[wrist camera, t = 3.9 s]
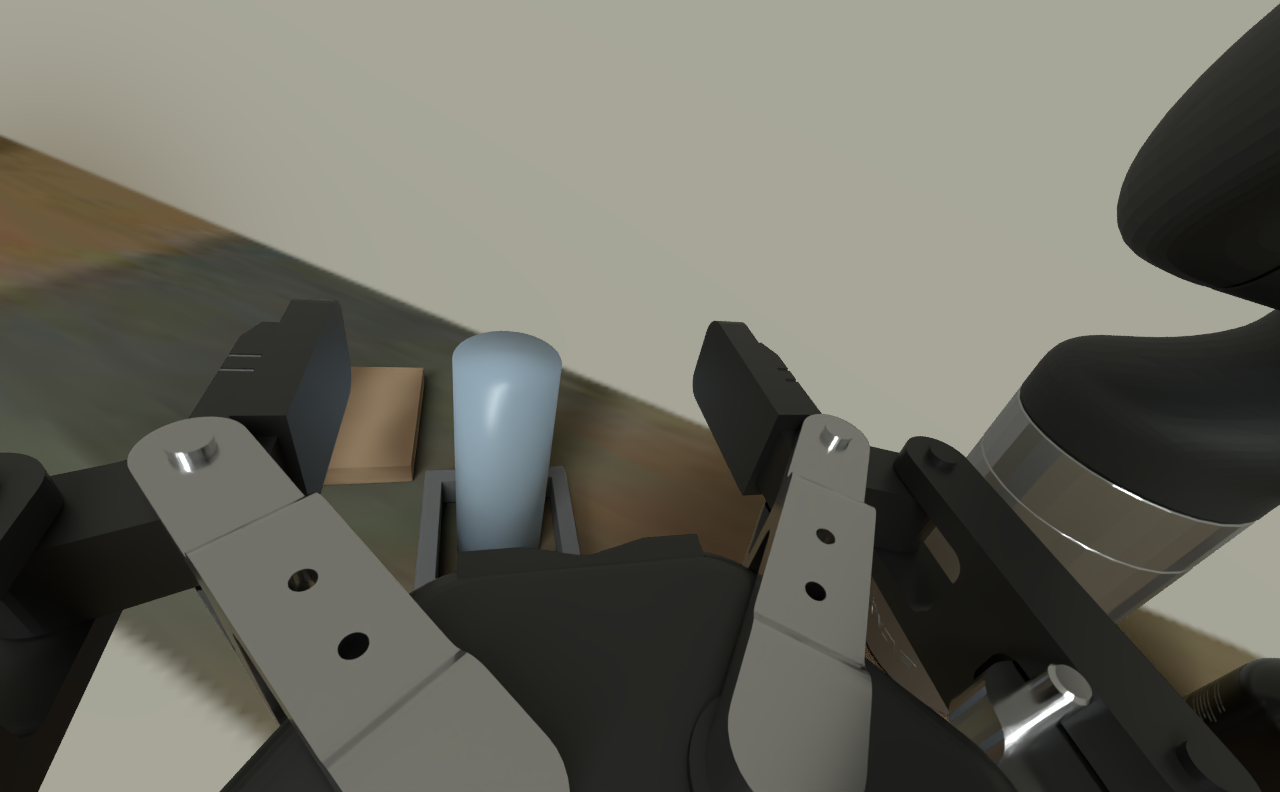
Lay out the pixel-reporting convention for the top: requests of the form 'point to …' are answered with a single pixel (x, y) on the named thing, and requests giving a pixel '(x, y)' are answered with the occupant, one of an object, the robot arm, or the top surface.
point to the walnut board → (378, 427)
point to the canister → (503, 437)
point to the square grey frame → (444, 490)
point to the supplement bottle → (1246, 717)
